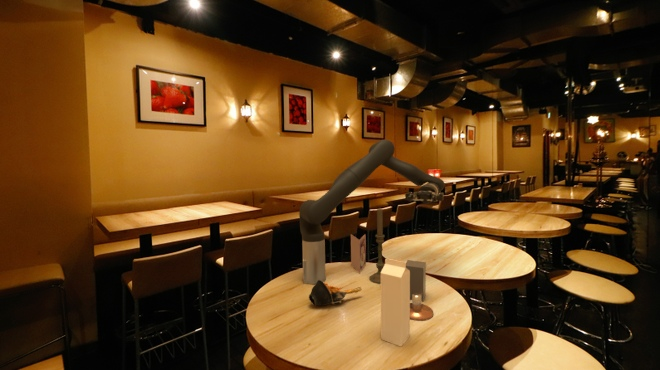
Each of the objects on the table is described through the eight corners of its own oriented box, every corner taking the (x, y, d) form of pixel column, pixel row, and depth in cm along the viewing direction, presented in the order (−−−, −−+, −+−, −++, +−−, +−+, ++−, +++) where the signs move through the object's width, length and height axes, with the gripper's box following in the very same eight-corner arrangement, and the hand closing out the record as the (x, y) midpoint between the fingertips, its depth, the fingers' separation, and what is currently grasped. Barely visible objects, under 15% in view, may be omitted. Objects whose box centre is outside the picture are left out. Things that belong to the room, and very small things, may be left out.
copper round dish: (407, 321, 91) (407, 303, 90) (396, 306, 101) (396, 289, 100) (438, 319, 92) (439, 301, 91) (425, 303, 102) (425, 287, 101)
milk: (390, 329, 87) (389, 255, 85) (410, 336, 83) (410, 259, 82) (380, 339, 82) (379, 261, 80) (401, 347, 78) (401, 265, 77)
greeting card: (361, 273, 130) (361, 240, 129) (345, 272, 132) (344, 238, 131) (367, 265, 141) (367, 233, 139) (352, 263, 143) (351, 232, 142)
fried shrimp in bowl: (301, 289, 105) (341, 263, 114) (316, 317, 104) (355, 289, 112) (309, 288, 97) (351, 261, 106) (325, 320, 96) (367, 289, 104)
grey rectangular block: (404, 298, 106) (404, 265, 105) (407, 291, 112) (407, 260, 111) (423, 301, 103) (423, 267, 102) (425, 294, 109) (425, 262, 108)
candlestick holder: (394, 277, 125) (394, 206, 122) (386, 285, 117) (386, 210, 115) (374, 273, 130) (374, 205, 127) (365, 281, 122) (364, 208, 120)
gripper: (410, 184, 130) (402, 189, 116) (445, 184, 124) (441, 189, 109) (411, 201, 131) (402, 208, 116) (445, 202, 124) (441, 209, 110)
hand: (421, 199), depth 113 cm, fingers open, 8 cm apart
